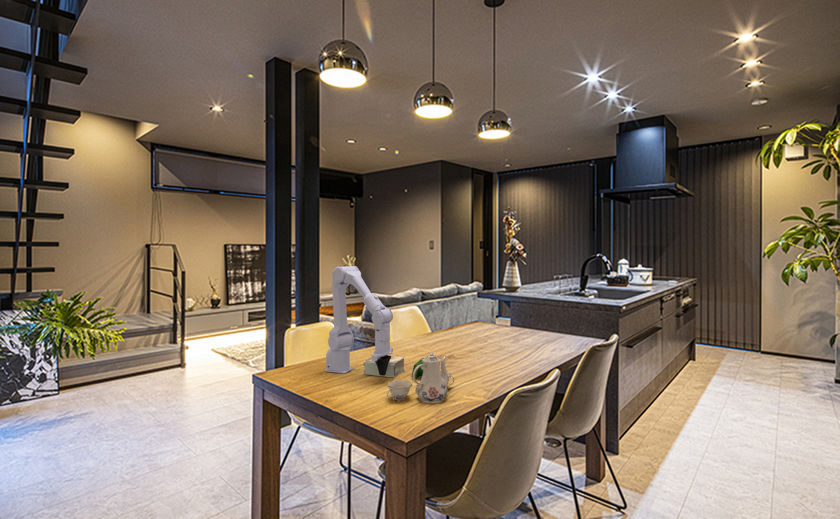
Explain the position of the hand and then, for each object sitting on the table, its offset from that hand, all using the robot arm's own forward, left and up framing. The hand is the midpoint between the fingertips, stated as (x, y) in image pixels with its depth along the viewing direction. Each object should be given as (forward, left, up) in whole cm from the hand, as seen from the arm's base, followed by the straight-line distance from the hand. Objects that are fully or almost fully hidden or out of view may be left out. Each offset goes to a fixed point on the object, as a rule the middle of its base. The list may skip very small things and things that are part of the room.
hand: (382, 374), depth 160 cm
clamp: (+13, +10, -2) cm, 17 cm away
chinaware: (+22, -11, -2) cm, 24 cm away
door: (-3, +4, -2) cm, 6 cm away
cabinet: (-3, +10, -2) cm, 11 cm away
